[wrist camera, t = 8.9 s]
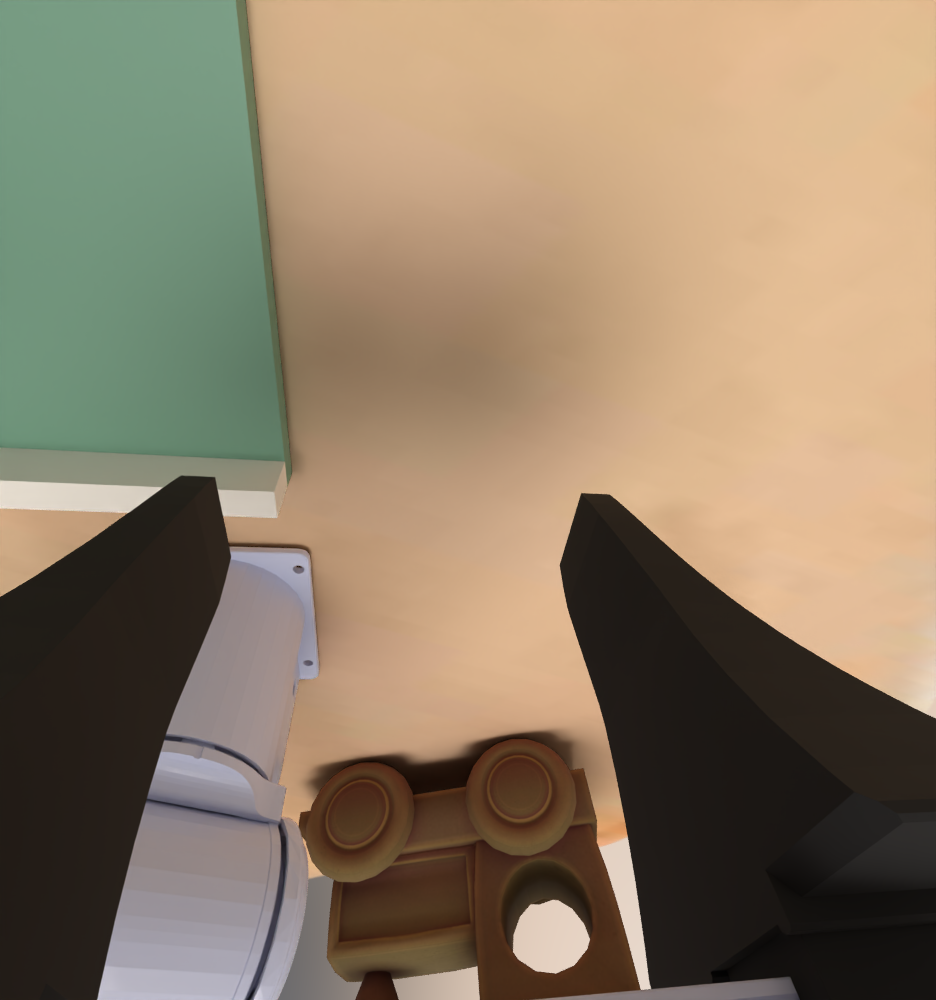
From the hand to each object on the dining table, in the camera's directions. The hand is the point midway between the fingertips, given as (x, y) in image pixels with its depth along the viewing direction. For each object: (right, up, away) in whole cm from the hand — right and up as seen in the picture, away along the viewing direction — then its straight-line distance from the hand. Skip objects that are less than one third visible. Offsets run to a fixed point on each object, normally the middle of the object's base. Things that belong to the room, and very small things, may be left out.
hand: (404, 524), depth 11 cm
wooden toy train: (0, -20, +29) cm, 35 cm away
